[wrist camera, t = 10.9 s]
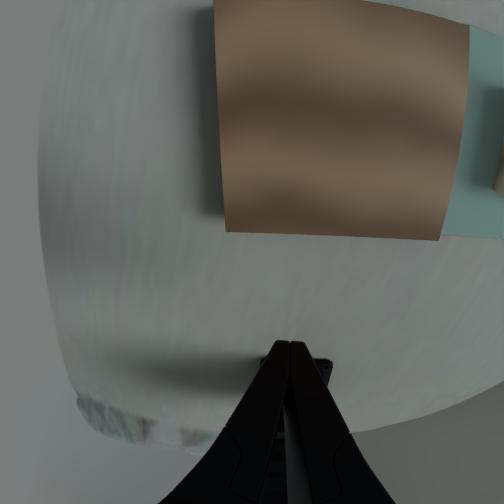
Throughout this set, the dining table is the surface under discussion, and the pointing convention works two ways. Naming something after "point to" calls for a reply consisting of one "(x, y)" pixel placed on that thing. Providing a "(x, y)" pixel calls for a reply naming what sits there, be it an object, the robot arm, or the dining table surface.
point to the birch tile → (500, 174)
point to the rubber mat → (480, 144)
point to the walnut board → (338, 116)
